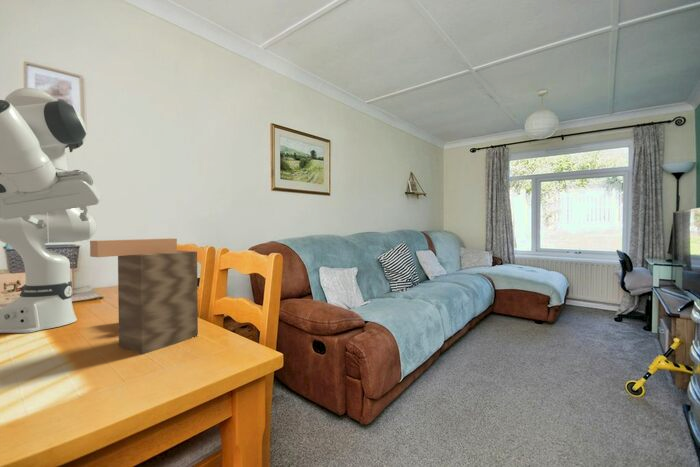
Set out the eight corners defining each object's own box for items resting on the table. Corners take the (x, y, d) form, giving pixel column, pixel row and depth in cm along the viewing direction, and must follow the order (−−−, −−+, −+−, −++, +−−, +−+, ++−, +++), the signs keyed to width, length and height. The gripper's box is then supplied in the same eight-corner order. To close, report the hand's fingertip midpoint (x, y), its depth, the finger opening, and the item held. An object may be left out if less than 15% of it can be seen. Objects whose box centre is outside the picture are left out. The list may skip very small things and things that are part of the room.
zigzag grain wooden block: (142, 354, 83) (140, 255, 82) (118, 345, 89) (117, 253, 88) (197, 336, 97) (197, 251, 96) (174, 329, 103) (173, 250, 102)
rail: (97, 257, 77) (97, 241, 77) (90, 256, 79) (90, 240, 79) (176, 251, 95) (176, 238, 95) (169, 251, 97) (169, 238, 97)
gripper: (88, 163, 79) (113, 209, 87) (-18, 177, 72) (19, 225, 81) (83, 174, 74) (109, 221, 83) (-31, 190, 68) (11, 239, 76)
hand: (64, 223), depth 82 cm, fingers open, 8 cm apart
